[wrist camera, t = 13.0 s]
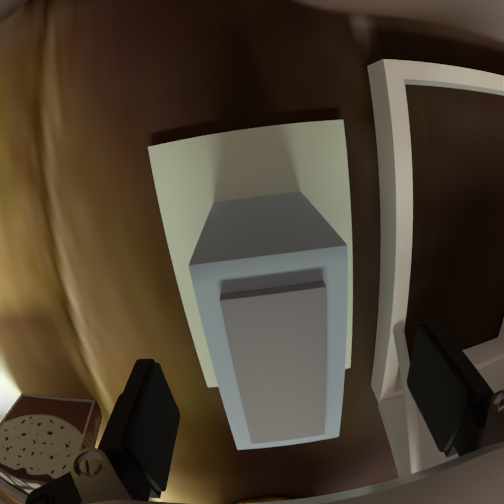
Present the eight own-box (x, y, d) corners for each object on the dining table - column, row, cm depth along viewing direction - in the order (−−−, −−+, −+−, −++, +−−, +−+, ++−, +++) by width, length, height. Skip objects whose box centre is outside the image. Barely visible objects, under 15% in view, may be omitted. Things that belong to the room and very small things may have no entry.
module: (300, 191, 16) (351, 250, 9) (310, 335, 20) (340, 443, 12) (213, 202, 16) (186, 271, 9) (238, 344, 20) (237, 456, 12)
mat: (339, 119, 16) (343, 119, 15) (348, 362, 21) (350, 367, 21) (151, 146, 16) (147, 146, 15) (208, 381, 22) (207, 387, 21)
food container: (41, 431, 25) (10, 499, 16) (12, 391, 23) (-30, 462, 14) (137, 443, 25) (115, 532, 15) (110, 400, 23) (73, 499, 13)
